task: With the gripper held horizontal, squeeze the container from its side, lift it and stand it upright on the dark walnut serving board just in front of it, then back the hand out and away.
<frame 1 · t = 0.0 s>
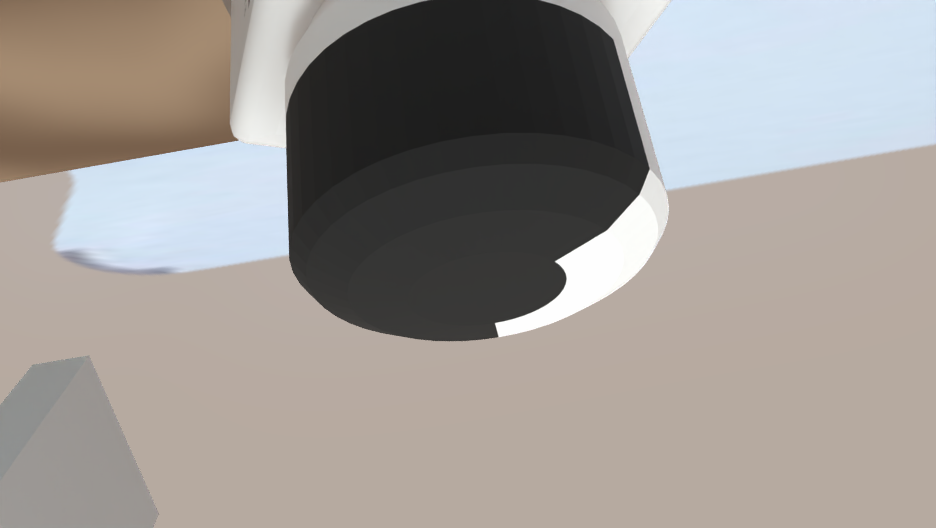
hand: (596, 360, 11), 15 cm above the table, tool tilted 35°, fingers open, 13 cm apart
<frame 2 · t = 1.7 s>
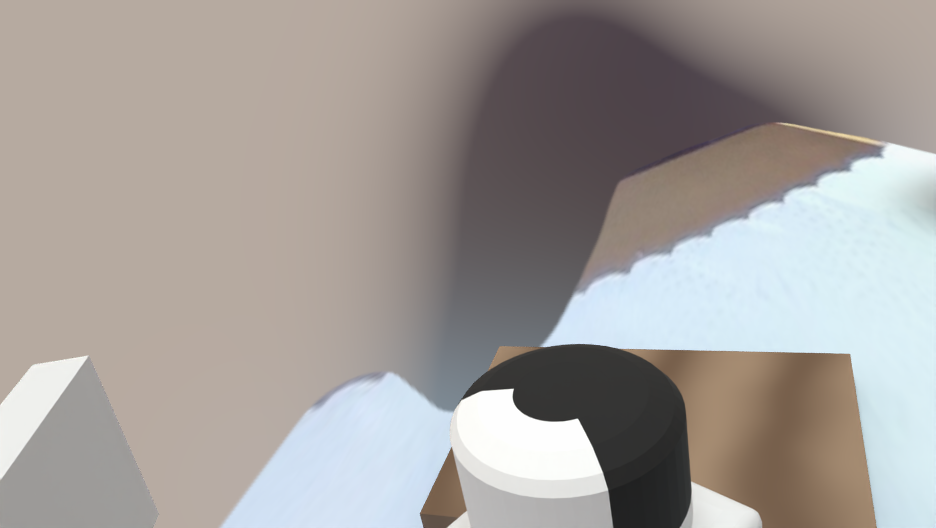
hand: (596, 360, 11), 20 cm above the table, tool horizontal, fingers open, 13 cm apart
serving board: (650, 454, 39), on the table
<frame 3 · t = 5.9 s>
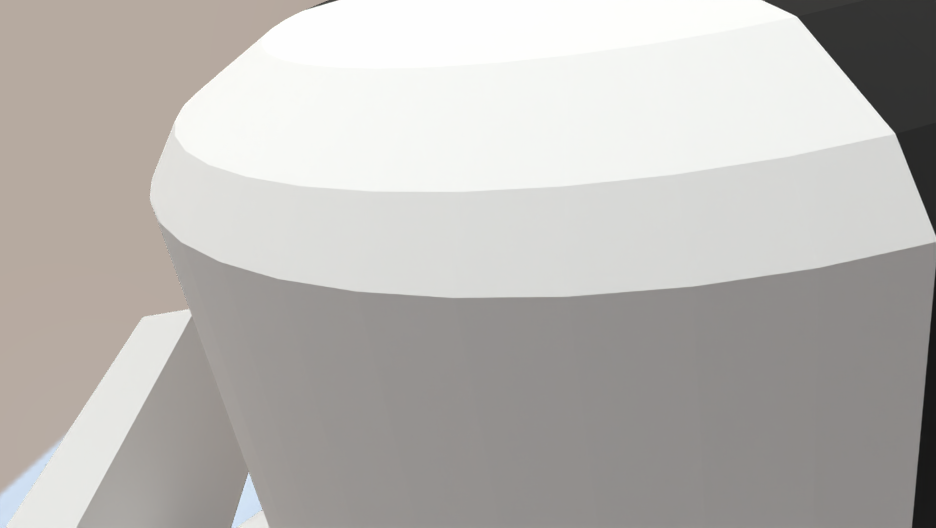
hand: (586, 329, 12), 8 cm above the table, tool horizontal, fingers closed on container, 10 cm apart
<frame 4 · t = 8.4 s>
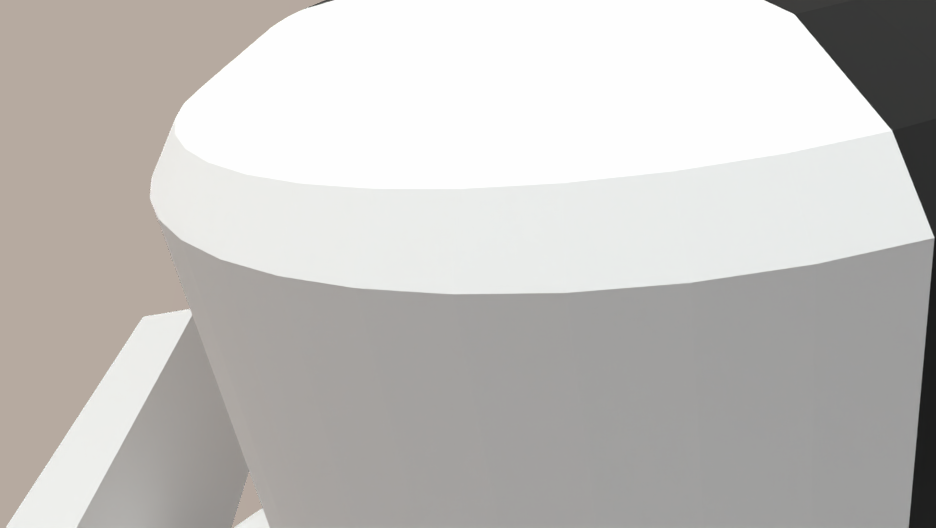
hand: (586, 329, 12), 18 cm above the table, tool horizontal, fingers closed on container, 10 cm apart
when the fingers open (10 cm above the table, at t = 10.7 s): container drops 1 cm, resting on serving board.
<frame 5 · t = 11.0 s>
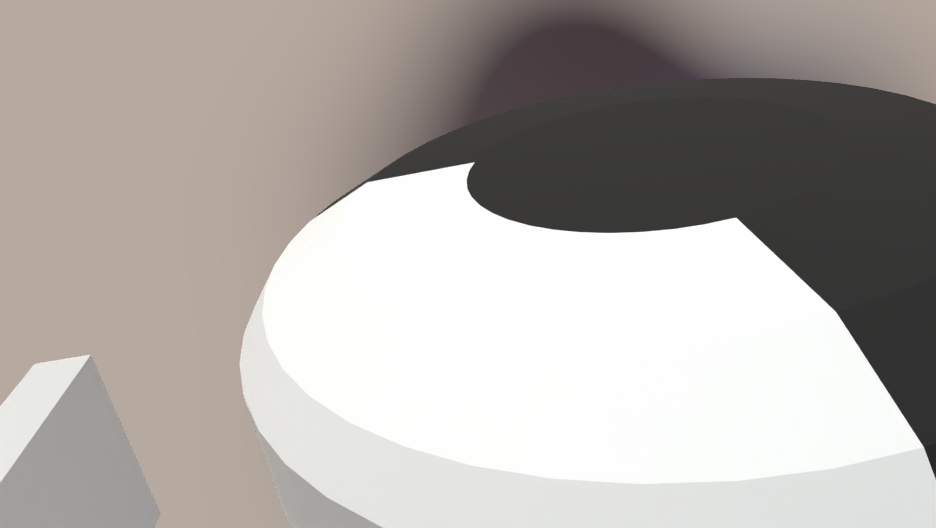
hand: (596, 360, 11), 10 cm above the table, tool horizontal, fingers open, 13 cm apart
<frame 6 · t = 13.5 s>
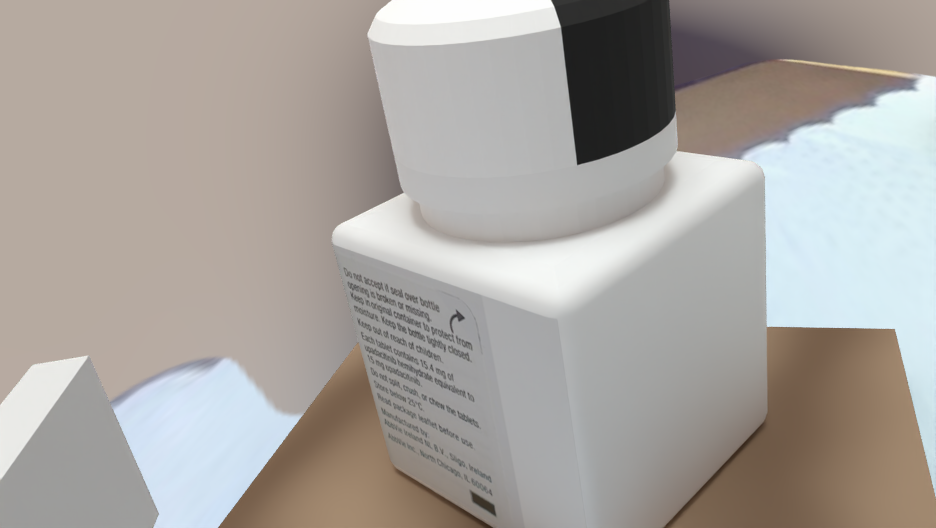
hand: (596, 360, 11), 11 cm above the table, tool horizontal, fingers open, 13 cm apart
container: (577, 450, 23), point 1 cm above the table, touching serving board
serving board: (575, 485, 24), on the table
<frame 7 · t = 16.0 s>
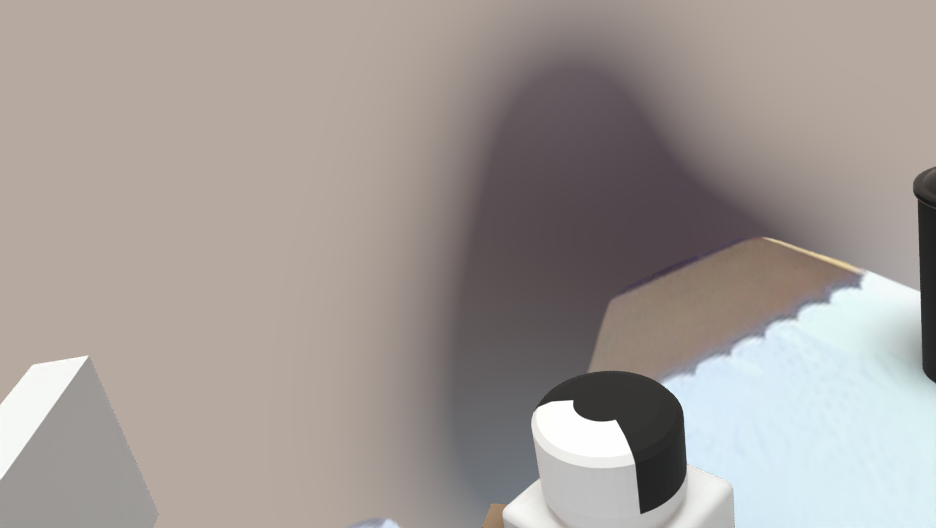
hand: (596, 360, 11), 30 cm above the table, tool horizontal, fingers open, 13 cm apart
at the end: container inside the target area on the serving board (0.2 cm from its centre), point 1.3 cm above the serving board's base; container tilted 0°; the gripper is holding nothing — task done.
